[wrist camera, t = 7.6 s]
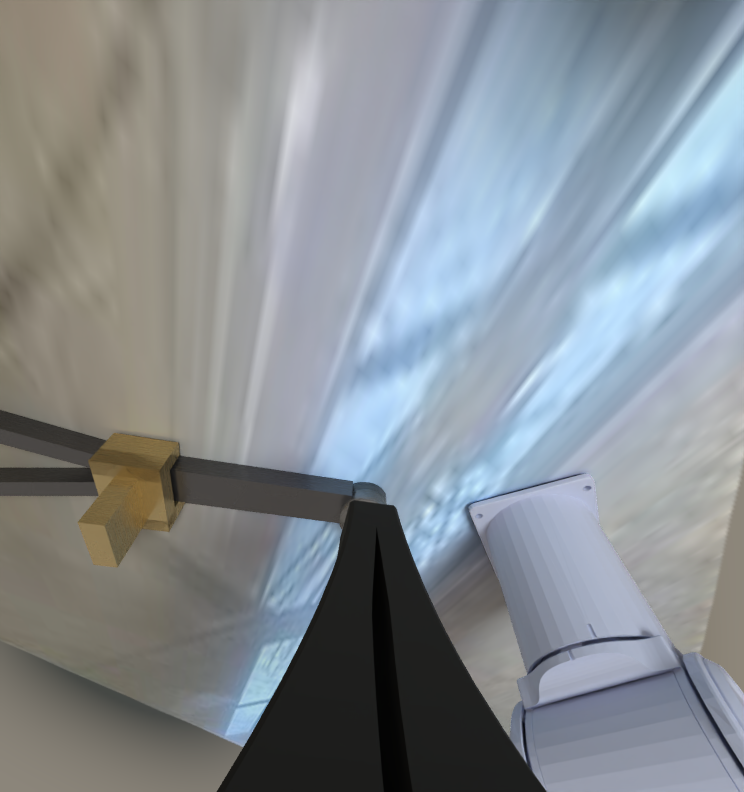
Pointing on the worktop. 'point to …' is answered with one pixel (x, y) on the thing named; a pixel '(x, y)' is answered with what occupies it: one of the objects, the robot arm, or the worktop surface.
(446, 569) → the worktop surface
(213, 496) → the grey long bar part
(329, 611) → the robot arm
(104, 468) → the collar
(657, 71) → the worktop surface
